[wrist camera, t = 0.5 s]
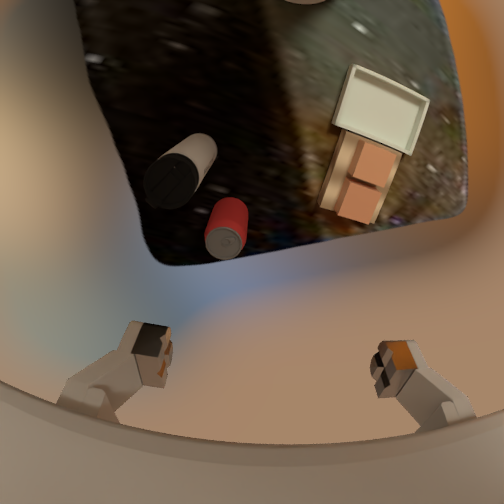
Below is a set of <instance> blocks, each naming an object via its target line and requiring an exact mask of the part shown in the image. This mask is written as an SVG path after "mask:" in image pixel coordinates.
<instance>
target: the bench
mask: <svg viewBox="0 0 504 504" xmlns="http://www.w3.org/2000/svg"><path fill="white" fill-rule="evenodd" d="M359 139H361V140H363V141H366V142H368V143H371V144H373V145H376V146H378V147H381V148H383V149H386V150H388V151H390V152H392V153H394V154H396V155H397V156H396V158H395V161H394V164H393V166H392V169H391V172H390V174H389V177H388V179H387V182H386V184H385V187H384V188H383V187H380V186H377V185H375V184H372V183H369V182H366V181H364V180H361V179H358V178H355V177H352V176H351V175H350V173H349V172H348V170H349V167H350V164H351V161H352V158H353V156H354V153H355V150H356V147H357V144H358V141H359ZM401 156H402V153H400V152H398V151H396V150H394V149H392V148H390V147H387V146H385V145H383V144H380V143H378V142H375V141H373V140H370V139H368V138H365V137H363V136H360V135H357V134H355V133H352V132H349V131H347V130H344V129H342V130H341V133H340V136H339V139H338V142H337V145H336V148H335V151H334V154H333V157H332V160H331V163H330V166H329V169H328V171H327V174H326V177H325V180H324V183H323V186H322V188H321V191H320V194H319V197H318V199H317V202H318V204H319V206H320V207H321V208H325V209H328V210H332V211H335V209H334V207H335V204H336V202H337V199H338V196H339V194H340V191H341V188H342V186H343V183H344V180H345V178H346V177H347V178H350V179H353V180H356V181H359V182H362V183H365V184H367V185H370V186H373V187H376V188H377V189H378V190H379V191H380V192H381V193H382V194H381V197H380V199H379V201H378V204H377V206H376V209H375V211H374V213H373V216H372V218H371V220H370V222H371V223H374V222H375V220H376V218H377V216H378V213H379V211H380V209H381V206H382V204H383V202H384V199H385V197H386V194H387V192H388V190H389V187H390V185H391V182H392V180H393V177H394V175H395V172H396V169H397V167H398V164H399V162H400V159H401ZM335 212H336V211H335Z"/></svg>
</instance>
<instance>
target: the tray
mask: <svg viewBox="0 0 504 504" xmlns="http://www.w3.org/2000/svg"><path fill="white" fill-rule="evenodd" d="M429 102H430V100H429V99H427V98H425V97H424V96H422V95H420V94H418V93H416V92H414V91H412V90H411V89H409V88H407V87H405V86H403V85H401V84H399V83H397V82H394V81H392V80H390V79H388V78H386V77H384V76H382V75H379V74H377V73H375V72H373V71H370V70H368V69H366V68H363V67H361V66H358V65H356V64H350V65H349V68H348V72H347V75H346V78H345V81H344V85H343V88H342V91H341V94H340V97H339V101H338V104H337V107H336V110H335V113H334V116H333V119H332V124H334V125H336V126H339V127H342V128H345V129H347V130H350V131H353V132H355V133H358V134H361V135H363V136H366V137H368V138H371V139H373V140H376V141H378V142H381V143H383V144H386V145H388V146H390V147H393V148H395V149H397V150H399V151H402V152H404V153H406V154H408V155H412V152H413V149H414V147H415V144H416V141H417V138H418V136H419V133H420V130H421V127H422V124H423V121H424V118H425V115H426V112H427V109H428V105H429Z"/></svg>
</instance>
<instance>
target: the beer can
mask: <svg viewBox="0 0 504 504" xmlns="http://www.w3.org/2000/svg"><path fill="white" fill-rule="evenodd" d="M247 226H248V209H247V207H246V205H245V204H244V203H243V202H242V201H240V200H239V199H236V198H233V197H227V198H223V199H221V200H220V201H218V202H217V203H216V204H215V206H214V208H213V210H212V213H211V216H210V219H209V221H208V224H207V227H206V230H205V233H204V236H205V243H206V248H207V250H208V252H209V253H210V254H211V255H212V256H214V257H215V258H218V259H221V260H228V259H232V258H234V257H235V256H237V255H238V254H239V253H240V251H241V250H242V248H243V247H244V245H245V242H246V237H247Z"/></svg>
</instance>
